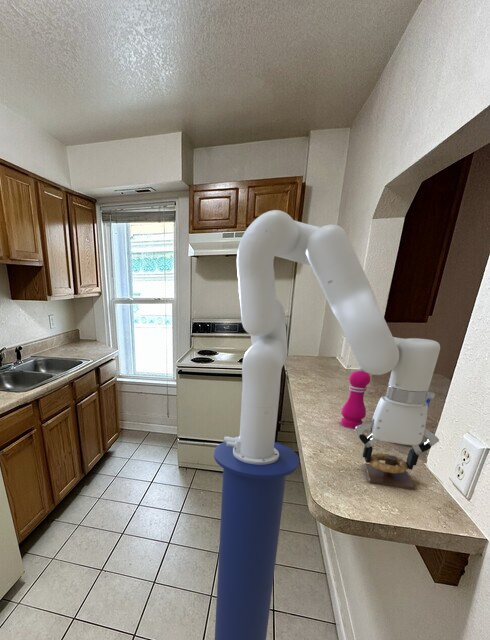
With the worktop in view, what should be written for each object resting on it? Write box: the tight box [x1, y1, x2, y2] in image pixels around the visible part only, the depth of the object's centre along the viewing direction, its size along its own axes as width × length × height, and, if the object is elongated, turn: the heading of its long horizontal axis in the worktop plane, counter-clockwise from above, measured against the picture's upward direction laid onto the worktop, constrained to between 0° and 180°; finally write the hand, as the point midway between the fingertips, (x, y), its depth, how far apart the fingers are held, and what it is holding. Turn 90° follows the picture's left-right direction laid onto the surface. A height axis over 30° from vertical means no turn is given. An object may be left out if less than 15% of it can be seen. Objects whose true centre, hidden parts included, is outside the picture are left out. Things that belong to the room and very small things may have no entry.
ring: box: [368, 452, 409, 474], centre depth 85 cm, size 8×8×2 cm
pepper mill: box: [340, 366, 371, 429], centre depth 115 cm, size 7×7×20 cm
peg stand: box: [364, 455, 415, 491], centre depth 85 cm, size 9×9×5 cm
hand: (387, 463), depth 85 cm, fingers closed on ring, 8 cm apart
